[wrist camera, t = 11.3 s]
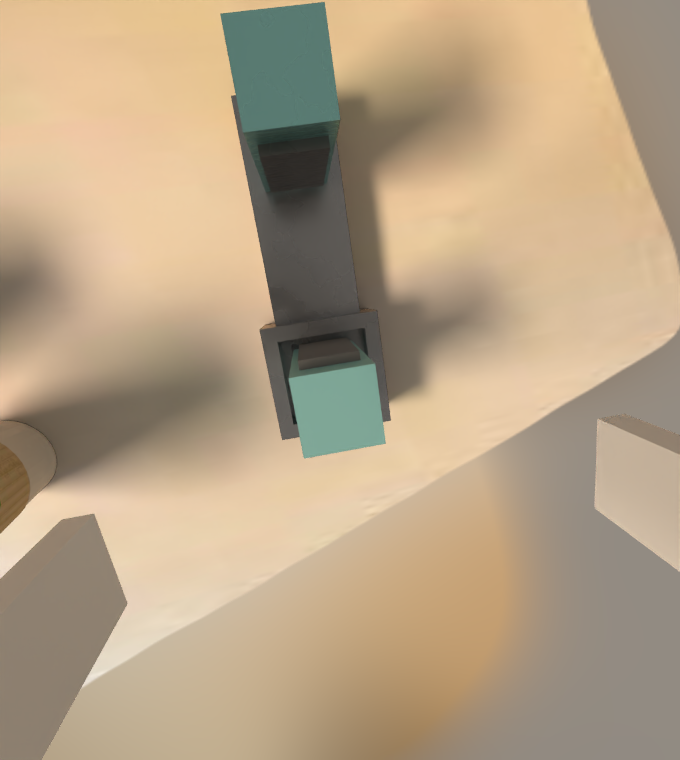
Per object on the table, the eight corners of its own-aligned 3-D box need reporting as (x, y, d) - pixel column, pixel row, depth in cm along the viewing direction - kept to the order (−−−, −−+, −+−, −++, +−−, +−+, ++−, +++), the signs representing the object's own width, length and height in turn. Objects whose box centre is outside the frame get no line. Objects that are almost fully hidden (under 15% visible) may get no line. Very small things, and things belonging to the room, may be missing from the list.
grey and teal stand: (223, 116, 24) (156, -30, 13) (340, 101, 25) (370, -52, 14) (284, 422, 30) (273, 499, 19) (380, 405, 30) (425, 470, 19)
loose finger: (292, 342, 26) (286, 368, 17) (350, 333, 26) (373, 353, 17) (303, 405, 27) (303, 458, 18) (359, 395, 27) (385, 443, 19)
